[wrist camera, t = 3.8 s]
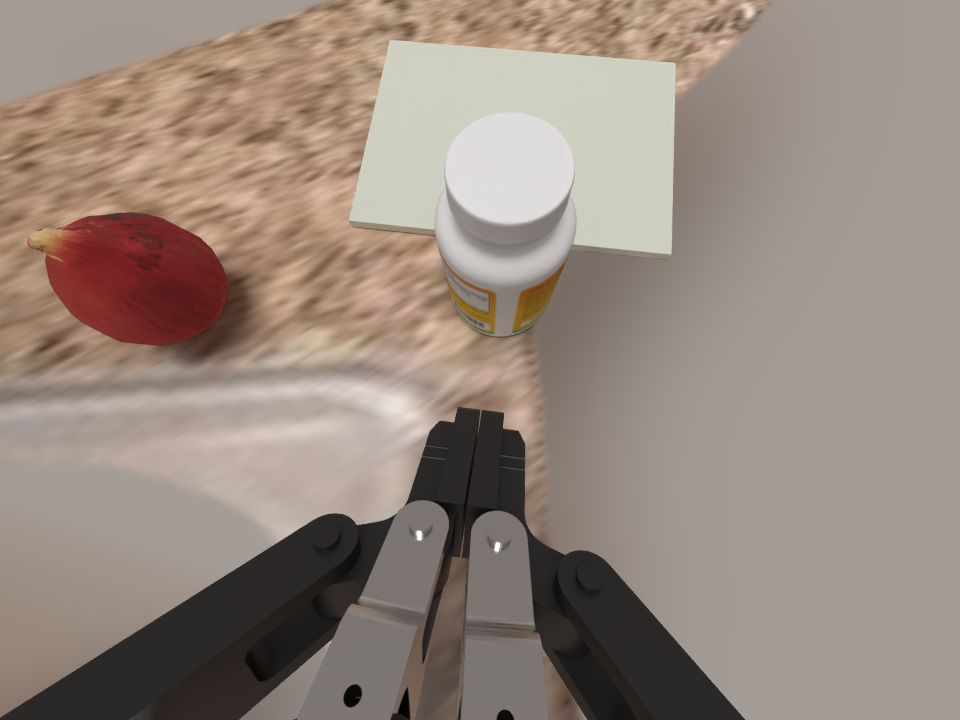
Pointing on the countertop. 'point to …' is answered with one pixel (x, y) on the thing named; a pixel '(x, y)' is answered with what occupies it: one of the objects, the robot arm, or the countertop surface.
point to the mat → (538, 92)
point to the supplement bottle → (505, 220)
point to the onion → (134, 277)
